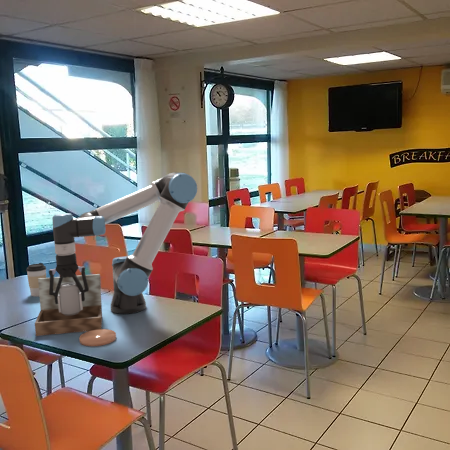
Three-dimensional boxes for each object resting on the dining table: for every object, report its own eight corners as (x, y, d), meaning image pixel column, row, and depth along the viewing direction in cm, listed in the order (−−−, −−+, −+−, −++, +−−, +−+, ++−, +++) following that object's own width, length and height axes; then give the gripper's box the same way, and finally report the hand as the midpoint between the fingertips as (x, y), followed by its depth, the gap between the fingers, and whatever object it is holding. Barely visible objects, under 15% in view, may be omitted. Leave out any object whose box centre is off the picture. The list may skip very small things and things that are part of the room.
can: (85, 311, 200) (82, 282, 198) (70, 317, 194) (67, 287, 192) (72, 309, 204) (69, 280, 202) (57, 314, 198) (54, 285, 196)
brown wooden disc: (116, 331, 192) (115, 327, 192) (116, 344, 179) (116, 340, 179) (80, 334, 189) (80, 331, 189) (78, 347, 177) (78, 343, 176)
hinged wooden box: (102, 316, 210) (99, 274, 208) (101, 329, 194) (98, 284, 191) (41, 321, 205) (38, 278, 203) (35, 336, 189) (31, 289, 186)
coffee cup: (36, 298, 238) (34, 267, 236) (24, 295, 243) (21, 265, 241) (52, 293, 246) (49, 263, 244) (40, 290, 251) (37, 261, 248)
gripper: (36, 257, 189) (42, 316, 193) (92, 253, 193) (97, 310, 197) (39, 253, 196) (45, 310, 200) (93, 249, 201) (97, 304, 204)
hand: (71, 310), depth 198 cm, fingers closed on can, 7 cm apart
